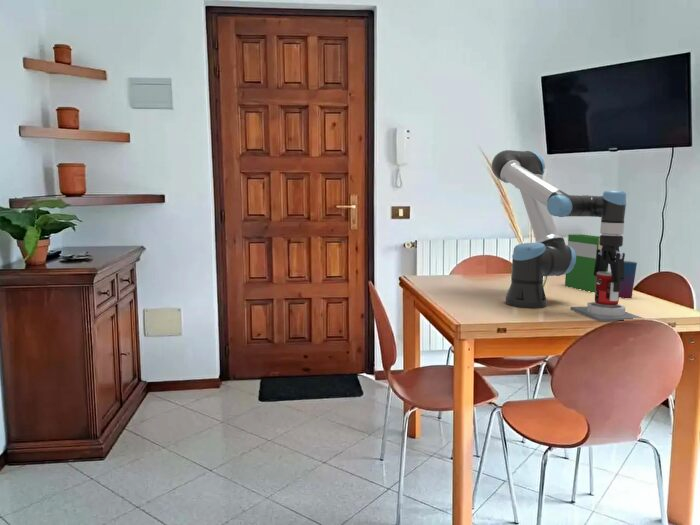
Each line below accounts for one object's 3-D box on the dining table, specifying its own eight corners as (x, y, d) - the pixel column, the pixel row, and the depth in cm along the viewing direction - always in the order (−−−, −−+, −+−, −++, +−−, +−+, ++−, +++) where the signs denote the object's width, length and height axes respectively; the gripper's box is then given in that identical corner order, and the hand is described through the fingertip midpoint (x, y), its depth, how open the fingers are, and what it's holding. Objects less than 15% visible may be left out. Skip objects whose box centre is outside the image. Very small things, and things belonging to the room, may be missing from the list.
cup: (635, 299, 248) (638, 263, 246) (618, 298, 249) (621, 262, 247) (631, 296, 255) (634, 261, 253) (614, 295, 256) (617, 260, 254)
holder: (600, 321, 204) (601, 311, 204) (570, 309, 224) (571, 300, 223) (643, 320, 207) (644, 310, 206) (610, 309, 226) (610, 299, 226)
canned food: (598, 300, 220) (600, 270, 219) (621, 303, 215) (623, 272, 214) (591, 303, 214) (593, 272, 213) (614, 306, 209) (617, 275, 208)
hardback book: (606, 292, 265) (610, 237, 262) (593, 292, 262) (597, 237, 259) (577, 285, 281) (581, 234, 278) (564, 286, 278) (568, 234, 275)
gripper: (639, 237, 202) (634, 304, 205) (604, 232, 222) (600, 293, 225) (619, 237, 201) (613, 304, 204) (586, 232, 221) (581, 293, 224)
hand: (606, 298), depth 214 cm, fingers closed on canned food, 8 cm apart
